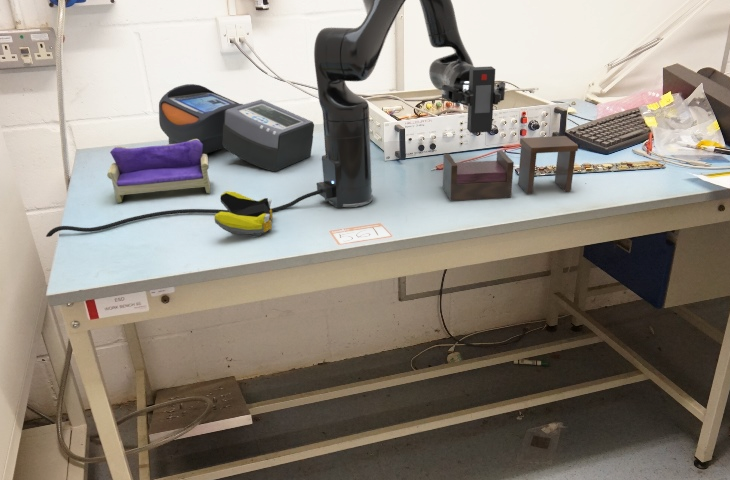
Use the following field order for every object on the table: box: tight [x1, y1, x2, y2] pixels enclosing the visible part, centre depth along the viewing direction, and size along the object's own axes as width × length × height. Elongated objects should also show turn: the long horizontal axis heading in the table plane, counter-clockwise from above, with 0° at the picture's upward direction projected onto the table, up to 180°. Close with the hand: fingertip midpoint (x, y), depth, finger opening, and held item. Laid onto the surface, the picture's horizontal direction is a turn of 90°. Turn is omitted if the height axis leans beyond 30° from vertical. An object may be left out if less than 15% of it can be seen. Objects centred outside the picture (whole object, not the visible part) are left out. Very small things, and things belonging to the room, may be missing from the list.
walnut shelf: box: [517, 135, 579, 195], centre depth 140 cm, size 10×8×10 cm
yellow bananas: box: [214, 190, 273, 238], centre depth 125 cm, size 15×6×10 cm
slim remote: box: [466, 66, 496, 134], centre depth 131 cm, size 4×3×12 cm
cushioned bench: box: [442, 150, 515, 202], centre depth 139 cm, size 13×9×8 cm
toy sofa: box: [106, 139, 211, 204], centre depth 143 cm, size 21×9×10 cm, turn 104°
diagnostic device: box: [158, 83, 315, 172], centre depth 167 cm, size 38×17×22 cm
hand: (484, 99), depth 128 cm, fingers closed on slim remote, 4 cm apart
